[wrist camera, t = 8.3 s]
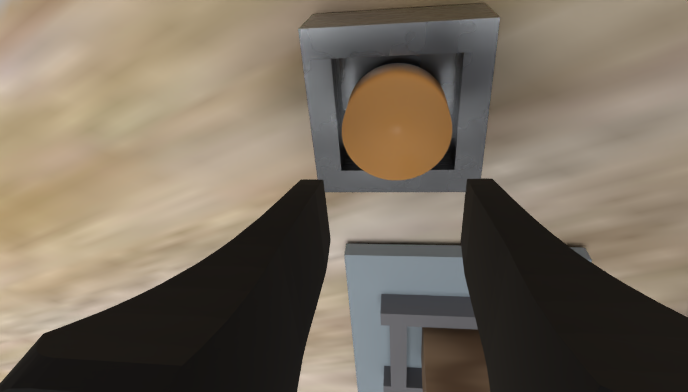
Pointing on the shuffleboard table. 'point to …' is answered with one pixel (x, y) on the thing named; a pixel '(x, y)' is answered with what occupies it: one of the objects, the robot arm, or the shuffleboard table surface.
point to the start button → (397, 122)
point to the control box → (411, 48)
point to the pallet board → (403, 308)
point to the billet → (453, 361)
